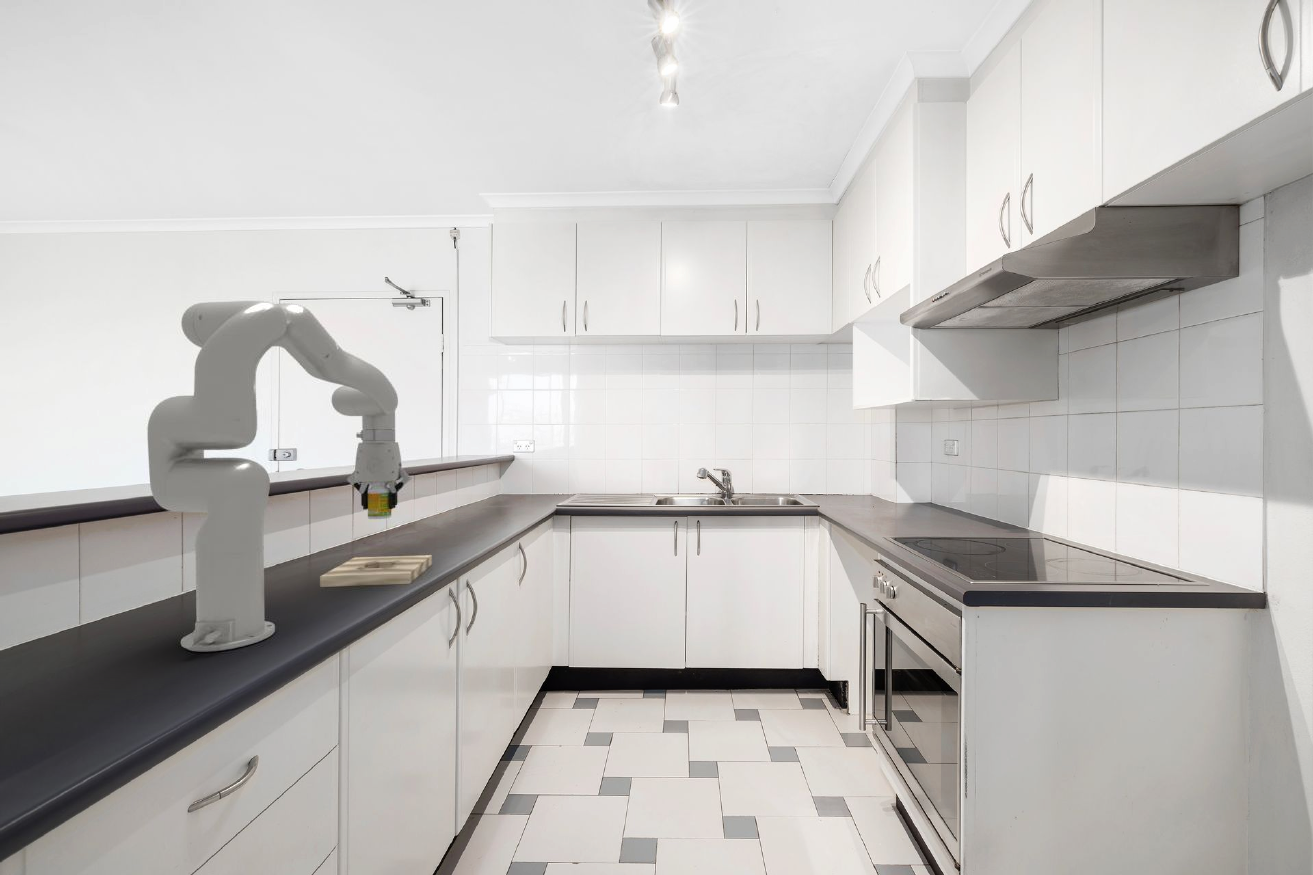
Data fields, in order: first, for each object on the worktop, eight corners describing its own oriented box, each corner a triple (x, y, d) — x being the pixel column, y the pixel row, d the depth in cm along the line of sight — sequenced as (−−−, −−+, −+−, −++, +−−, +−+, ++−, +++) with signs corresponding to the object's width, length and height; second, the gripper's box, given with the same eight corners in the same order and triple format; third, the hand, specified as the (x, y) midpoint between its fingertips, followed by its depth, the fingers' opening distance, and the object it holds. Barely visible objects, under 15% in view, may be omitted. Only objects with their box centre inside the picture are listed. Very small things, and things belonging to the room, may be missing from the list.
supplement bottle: (381, 519, 141) (381, 480, 141) (362, 519, 142) (362, 480, 142) (396, 516, 147) (395, 478, 146) (377, 516, 148) (377, 478, 148)
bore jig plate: (409, 583, 136) (409, 573, 136) (320, 586, 133) (320, 576, 133) (431, 564, 156) (431, 555, 156) (354, 566, 153) (354, 557, 153)
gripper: (336, 437, 139) (337, 511, 140) (410, 436, 142) (410, 509, 142) (349, 437, 147) (349, 507, 147) (418, 436, 149) (419, 506, 149)
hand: (379, 507), depth 144 cm, fingers closed on supplement bottle, 5 cm apart
